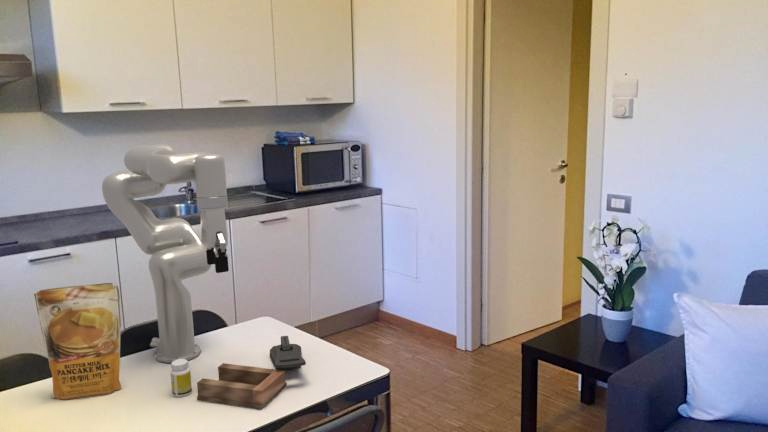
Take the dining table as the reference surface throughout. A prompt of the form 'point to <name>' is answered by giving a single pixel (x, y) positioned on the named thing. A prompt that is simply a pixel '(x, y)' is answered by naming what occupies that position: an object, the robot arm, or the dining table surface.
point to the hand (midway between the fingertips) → (217, 267)
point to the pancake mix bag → (81, 338)
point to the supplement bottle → (181, 378)
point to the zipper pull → (286, 356)
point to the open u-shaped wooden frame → (242, 386)
